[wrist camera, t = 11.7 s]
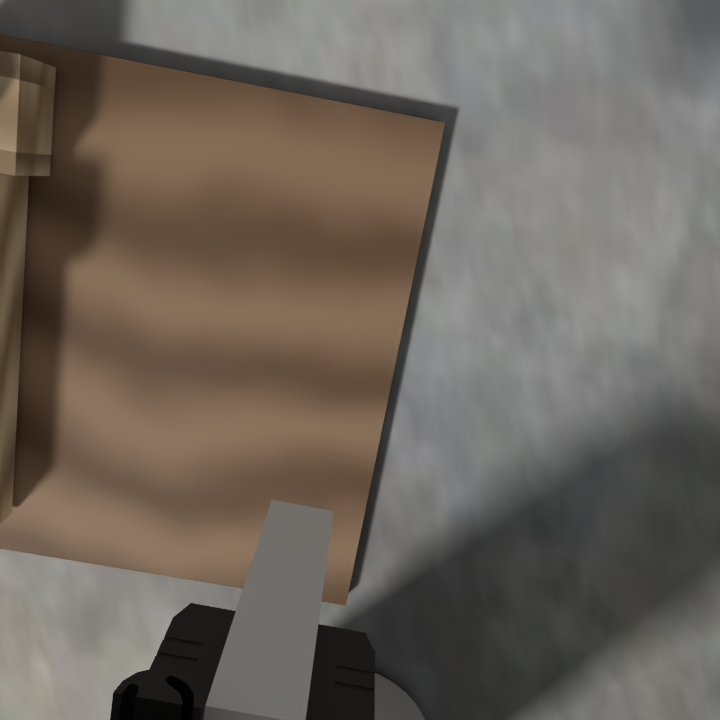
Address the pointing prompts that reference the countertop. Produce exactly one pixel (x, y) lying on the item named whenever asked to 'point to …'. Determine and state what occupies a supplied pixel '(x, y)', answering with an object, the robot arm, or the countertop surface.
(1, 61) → the light wooden beam
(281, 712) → the robot arm
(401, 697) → the cylinder vase
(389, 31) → the countertop surface
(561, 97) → the countertop surface
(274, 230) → the base
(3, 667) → the countertop surface
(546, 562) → the countertop surface
